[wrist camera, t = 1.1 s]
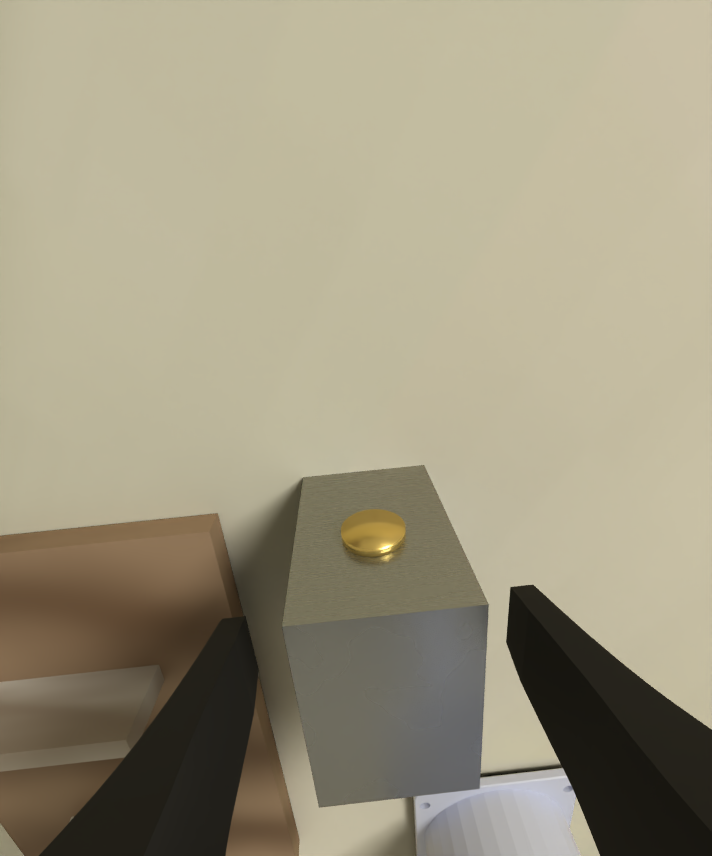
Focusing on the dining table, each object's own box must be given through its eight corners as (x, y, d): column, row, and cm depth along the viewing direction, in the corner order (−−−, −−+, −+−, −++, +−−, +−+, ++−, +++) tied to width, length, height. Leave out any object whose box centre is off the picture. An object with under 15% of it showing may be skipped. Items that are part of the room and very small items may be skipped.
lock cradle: (299, 839, 21) (293, 944, 18) (66, 867, 21) (16, 979, 17) (217, 513, 14) (181, 591, 10) (-148, 551, 13) (-303, 642, 10)
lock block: (427, 603, 16) (479, 789, 10) (324, 613, 16) (319, 807, 10) (423, 457, 13) (489, 594, 8) (302, 469, 13) (279, 617, 8)
